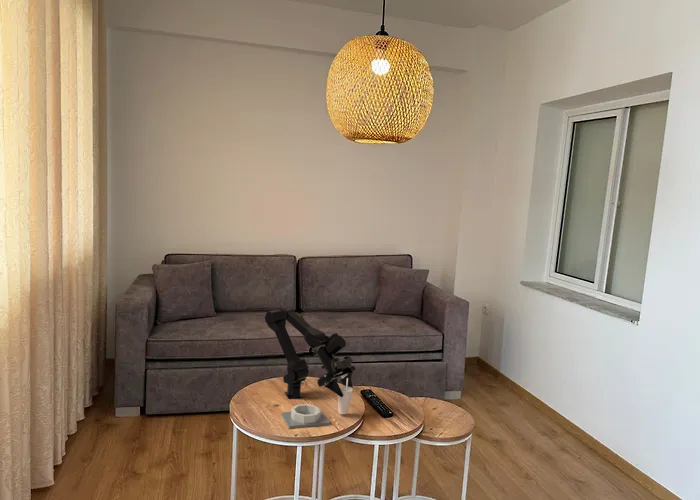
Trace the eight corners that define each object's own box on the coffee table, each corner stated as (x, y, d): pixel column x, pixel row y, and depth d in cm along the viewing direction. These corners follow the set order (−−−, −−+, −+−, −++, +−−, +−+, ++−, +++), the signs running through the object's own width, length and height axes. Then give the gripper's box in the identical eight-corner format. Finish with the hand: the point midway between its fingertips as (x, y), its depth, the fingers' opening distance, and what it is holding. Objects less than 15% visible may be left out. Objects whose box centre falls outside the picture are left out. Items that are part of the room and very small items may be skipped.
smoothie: (349, 416, 201) (352, 382, 199) (333, 413, 202) (336, 379, 200) (352, 410, 207) (355, 376, 205) (336, 407, 208) (340, 374, 207)
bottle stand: (281, 415, 200) (281, 405, 200) (320, 411, 206) (320, 402, 206) (289, 428, 189) (289, 418, 188) (330, 424, 195) (330, 414, 195)
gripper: (325, 354, 197) (345, 390, 191) (354, 345, 212) (374, 379, 206) (308, 368, 202) (327, 404, 197) (337, 359, 217) (356, 392, 212)
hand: (347, 394), depth 203 cm, fingers closed on smoothie, 6 cm apart
